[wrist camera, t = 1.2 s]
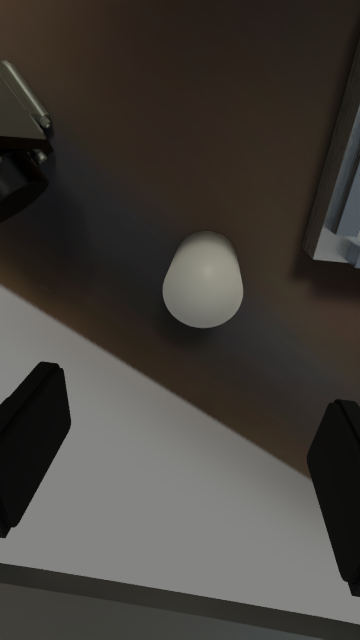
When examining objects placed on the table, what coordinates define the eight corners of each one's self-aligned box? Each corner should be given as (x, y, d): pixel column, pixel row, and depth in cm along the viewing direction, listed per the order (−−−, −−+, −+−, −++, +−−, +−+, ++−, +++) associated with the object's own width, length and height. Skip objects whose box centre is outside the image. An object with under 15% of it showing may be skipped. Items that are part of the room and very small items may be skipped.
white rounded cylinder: (176, 227, 23) (164, 250, 17) (242, 234, 22) (250, 258, 17) (171, 304, 26) (160, 343, 21) (229, 311, 26) (232, 351, 20)
